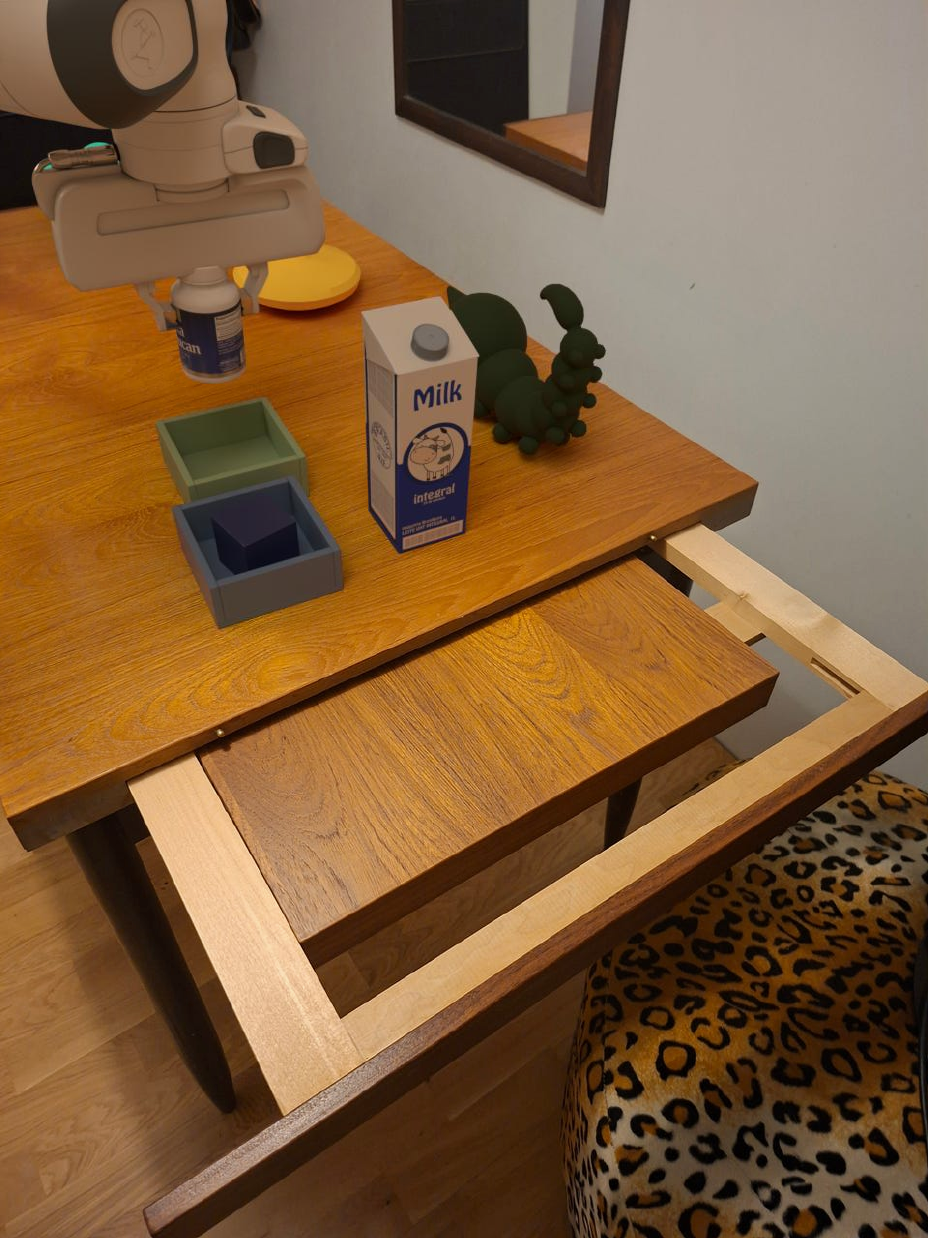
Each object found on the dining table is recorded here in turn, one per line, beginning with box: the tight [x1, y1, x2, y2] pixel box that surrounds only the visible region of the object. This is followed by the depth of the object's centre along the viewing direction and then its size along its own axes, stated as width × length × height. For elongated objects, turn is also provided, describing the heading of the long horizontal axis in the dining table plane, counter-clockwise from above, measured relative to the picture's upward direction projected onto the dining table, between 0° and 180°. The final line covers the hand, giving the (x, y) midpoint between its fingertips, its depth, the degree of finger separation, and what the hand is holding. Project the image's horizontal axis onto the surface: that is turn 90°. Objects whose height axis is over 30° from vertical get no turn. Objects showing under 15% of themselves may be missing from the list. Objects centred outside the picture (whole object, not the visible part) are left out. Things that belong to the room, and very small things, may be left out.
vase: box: [231, 243, 362, 312], centre depth 107 cm, size 16×16×7 cm
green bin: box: [154, 396, 311, 504], centre depth 82 cm, size 11×11×5 cm
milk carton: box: [360, 295, 479, 554], centre depth 73 cm, size 7×7×20 cm
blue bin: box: [170, 475, 344, 629], centre depth 74 cm, size 11×11×5 cm
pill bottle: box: [170, 266, 247, 385], centre depth 71 cm, size 5×5×10 cm
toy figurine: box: [446, 283, 607, 457], centre depth 87 cm, size 9×19×25 cm
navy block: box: [210, 492, 300, 575], centre depth 73 cm, size 5×5×5 cm
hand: (209, 319), depth 72 cm, fingers closed on pill bottle, 5 cm apart
